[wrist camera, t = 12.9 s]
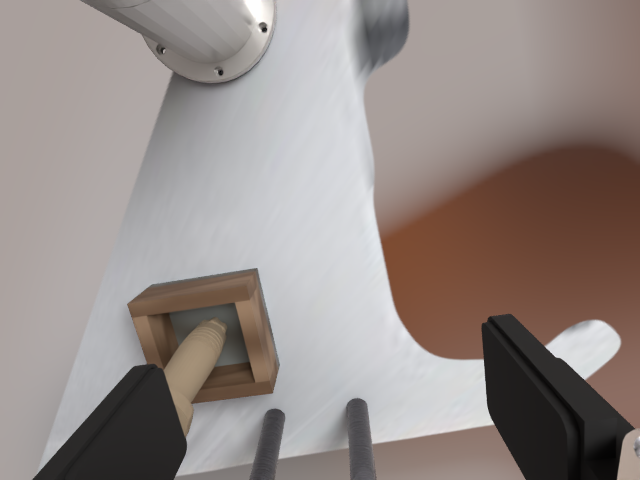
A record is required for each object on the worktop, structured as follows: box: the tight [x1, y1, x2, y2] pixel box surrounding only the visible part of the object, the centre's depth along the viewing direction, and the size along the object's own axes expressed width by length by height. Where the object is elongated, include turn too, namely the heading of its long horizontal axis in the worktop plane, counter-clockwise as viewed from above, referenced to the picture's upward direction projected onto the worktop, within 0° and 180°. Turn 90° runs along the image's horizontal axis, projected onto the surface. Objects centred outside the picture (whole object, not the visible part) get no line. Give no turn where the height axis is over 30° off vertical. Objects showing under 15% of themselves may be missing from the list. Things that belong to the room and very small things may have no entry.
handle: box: [163, 317, 227, 438], centre depth 34 cm, size 5×6×15 cm
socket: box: [127, 268, 280, 404], centre depth 39 cm, size 12×12×5 cm
